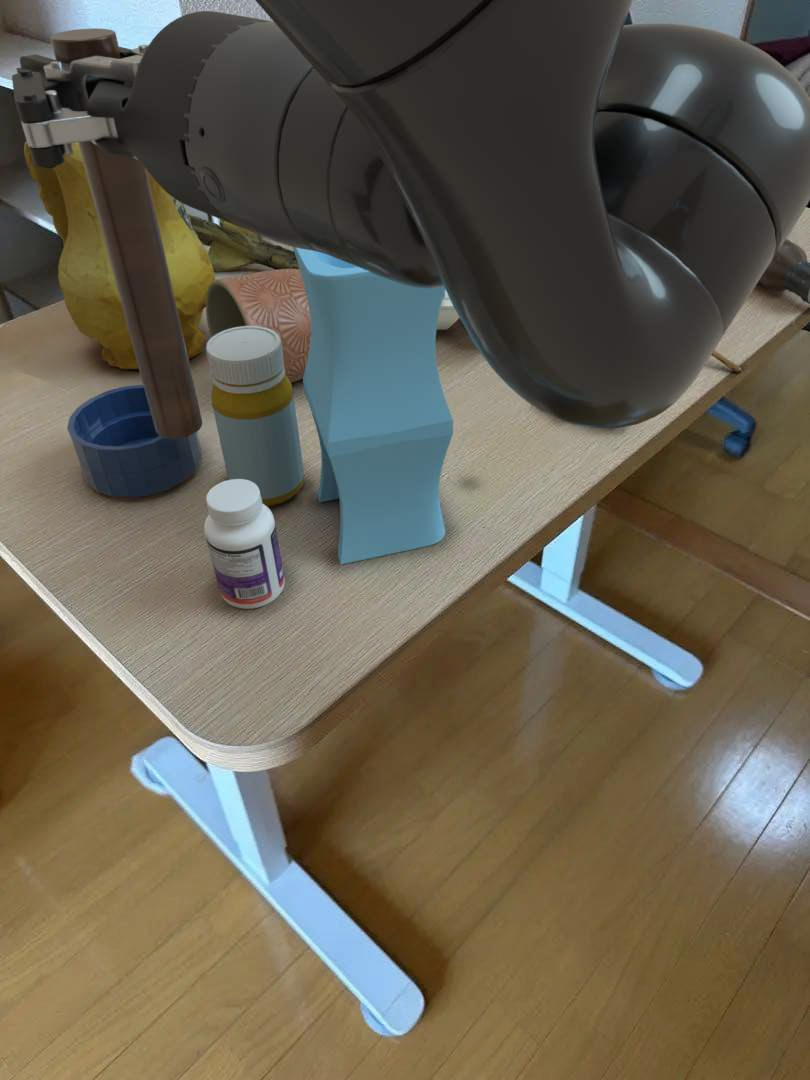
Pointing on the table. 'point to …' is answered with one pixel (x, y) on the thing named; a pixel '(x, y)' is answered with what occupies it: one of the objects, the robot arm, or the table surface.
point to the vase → (376, 405)
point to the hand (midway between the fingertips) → (65, 73)
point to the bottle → (256, 411)
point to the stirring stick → (137, 261)
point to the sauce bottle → (788, 271)
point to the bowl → (128, 446)
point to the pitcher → (90, 267)
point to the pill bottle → (243, 545)
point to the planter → (265, 311)
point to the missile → (240, 247)
